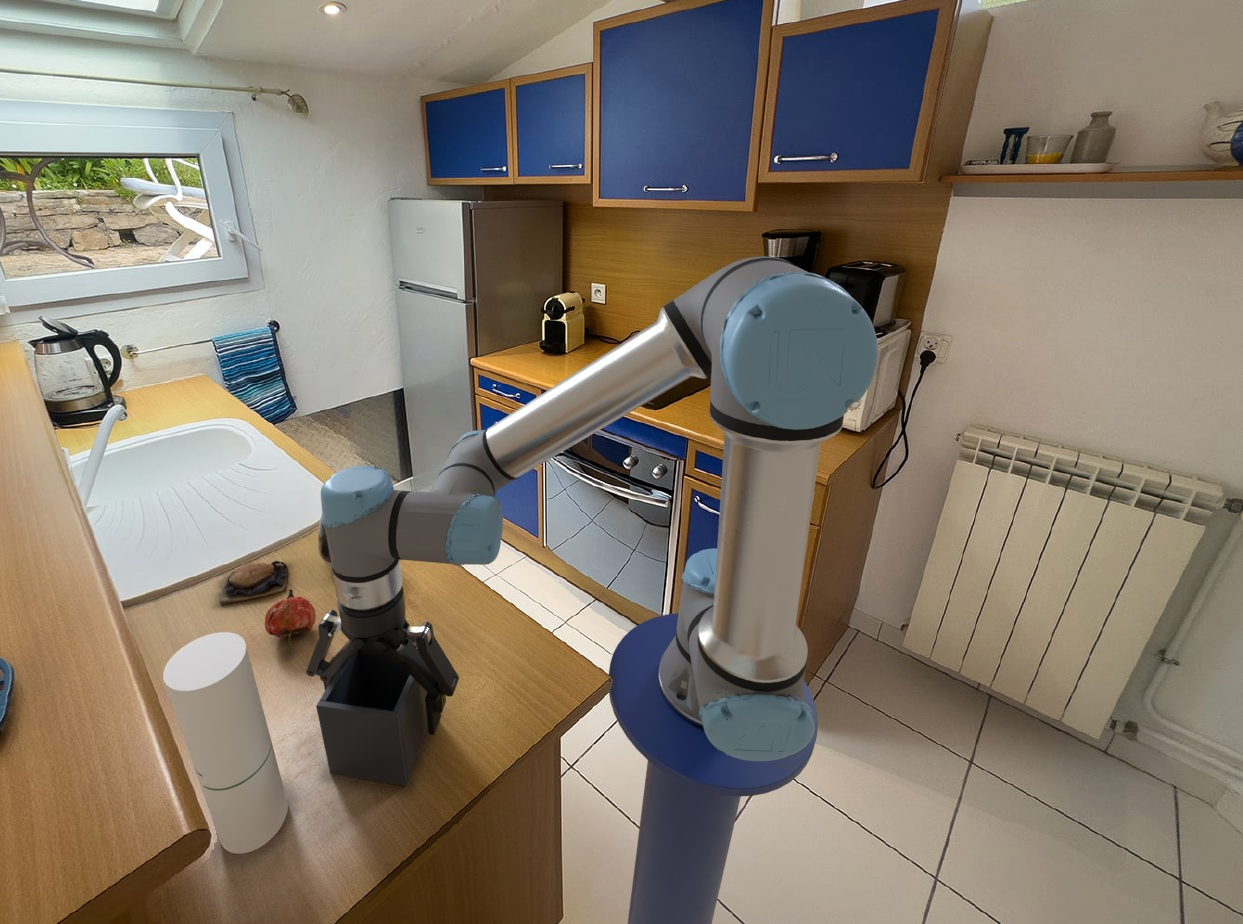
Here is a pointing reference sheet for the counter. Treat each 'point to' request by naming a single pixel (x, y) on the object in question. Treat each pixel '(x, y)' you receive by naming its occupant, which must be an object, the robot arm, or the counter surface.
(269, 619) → the pomegranate
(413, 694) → the dark grey box
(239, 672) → the cylindrical container
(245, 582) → the bread roll
